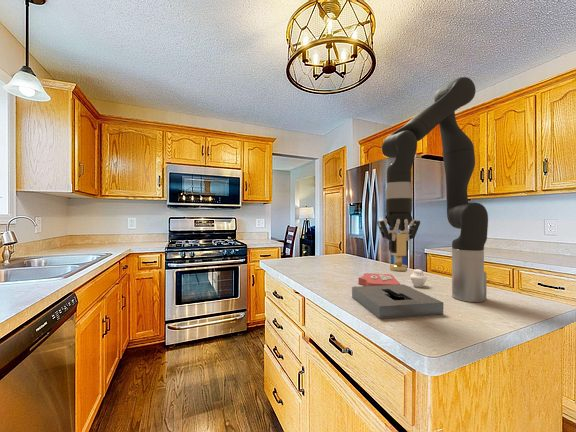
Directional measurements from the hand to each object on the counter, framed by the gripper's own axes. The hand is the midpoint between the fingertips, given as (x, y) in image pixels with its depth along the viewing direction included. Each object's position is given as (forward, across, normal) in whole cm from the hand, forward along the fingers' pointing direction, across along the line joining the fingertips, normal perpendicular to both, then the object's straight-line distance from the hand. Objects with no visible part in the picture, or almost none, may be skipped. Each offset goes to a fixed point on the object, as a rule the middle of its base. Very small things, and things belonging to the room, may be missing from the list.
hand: (398, 252), depth 83 cm
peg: (+6, 0, 0) cm, 6 cm away
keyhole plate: (+18, 0, -3) cm, 18 cm away
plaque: (+18, -6, -27) cm, 33 cm away
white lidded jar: (+18, -22, -22) cm, 36 cm away
